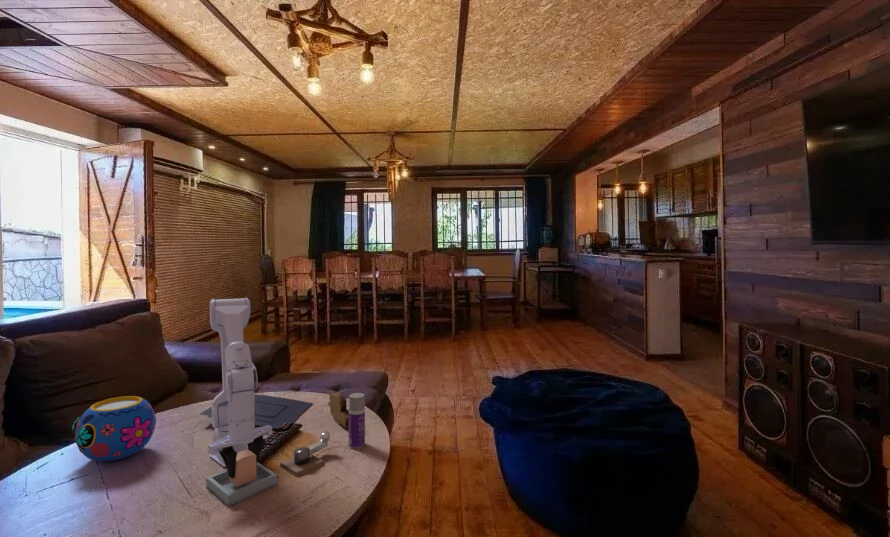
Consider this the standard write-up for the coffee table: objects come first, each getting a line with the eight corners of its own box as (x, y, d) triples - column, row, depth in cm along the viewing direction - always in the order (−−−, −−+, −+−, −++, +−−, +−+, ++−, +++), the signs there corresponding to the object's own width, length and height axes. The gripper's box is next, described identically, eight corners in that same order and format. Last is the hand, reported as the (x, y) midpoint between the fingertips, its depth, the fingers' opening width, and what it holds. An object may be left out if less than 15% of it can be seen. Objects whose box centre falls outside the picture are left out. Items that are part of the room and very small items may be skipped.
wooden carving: (358, 429, 136) (358, 398, 135) (345, 433, 133) (345, 402, 132) (335, 414, 148) (335, 386, 148) (323, 417, 145) (323, 388, 145)
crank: (301, 465, 110) (301, 449, 110) (290, 461, 112) (290, 446, 112) (333, 447, 120) (333, 433, 120) (323, 444, 122) (323, 430, 122)
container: (361, 449, 122) (361, 398, 121) (345, 447, 123) (346, 397, 122) (367, 442, 126) (367, 393, 126) (352, 440, 127) (352, 392, 127)
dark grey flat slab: (234, 398, 159) (236, 389, 159) (312, 410, 158) (313, 400, 158) (194, 424, 135) (195, 413, 134) (285, 438, 134) (286, 427, 134)
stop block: (229, 480, 102) (228, 455, 101) (247, 472, 105) (247, 449, 105) (237, 486, 99) (237, 461, 99) (256, 478, 102) (256, 454, 102)
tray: (206, 487, 101) (206, 477, 101) (253, 468, 110) (253, 459, 110) (228, 506, 94) (228, 495, 94) (277, 484, 103) (277, 474, 103)
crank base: (279, 466, 112) (280, 461, 112) (306, 454, 118) (306, 451, 118) (296, 476, 107) (296, 472, 107) (323, 464, 113) (323, 460, 113)
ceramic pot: (70, 456, 116) (69, 402, 115) (148, 436, 129) (147, 388, 128) (79, 480, 104) (78, 421, 103) (163, 455, 117) (163, 402, 116)
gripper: (217, 431, 93) (218, 491, 94) (278, 412, 105) (278, 466, 105) (204, 423, 98) (204, 480, 98) (264, 406, 109) (264, 457, 110)
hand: (242, 472), depth 102 cm, fingers closed on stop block, 4 cm apart
